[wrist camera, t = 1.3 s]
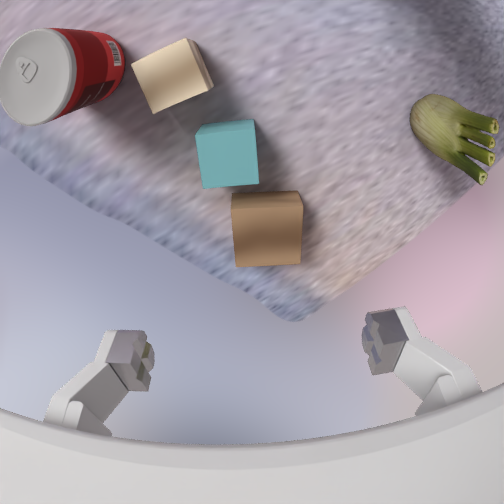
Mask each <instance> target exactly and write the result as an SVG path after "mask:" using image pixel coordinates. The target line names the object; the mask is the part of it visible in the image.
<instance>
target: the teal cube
mask: <svg viewBox="0 0 504 504" xmlns="http://www.w3.org/2000/svg"><path fill="white" fill-rule="evenodd" d="M195 139H196V146H197V153H198V159H199V166H200V172H201V179H202V185H203V189H207V188H217V187H227V186H238V185H250V184H259V175H258V162H257V149H256V137H255V127H254V120H253V119H247V120H236V121H226V122H217V123H208V124H202V126H201V127H200V129H199V130H198V132H197V133H196V134H195Z"/></svg>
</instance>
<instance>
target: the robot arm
mask: <svg viewBox="0 0 504 504" xmlns="http://www.w3.org/2000/svg"><path fill="white" fill-rule="evenodd" d="M365 321H366V324H367V325H366V326H365V327H364V328H363V331H362V344H363V348H364V351H365V353H367V354H368V355H369V359H368V364H369V367H370V370H371V373H372V375H377V374H383V373H389V372H393V373H394V374H395V375H396V376H397V377H398V378H399V379H400V380H401V381H402V382H403V383H405V384H406V385H407V386H408V387H409V388H410V389H411V390H412V391H413V392H414V393H415V394H416V395H417V396H419V397H420V398H421V399H422V400H423V402H422V404H421V405H420V406H419V408H418V409H417V411H416V412H415V415H416V416H415V417H412V418H408V419H405V420H401V421H397V422H394V423H390V424H386V425H382V426H377V427H373V428H368V429H364V430H359V431H354V432H349V433H343V434H338V435H332V436H326V437H318V438H311V439H304V440H294V441H285V442H273V443H258V444H235V445H234V444H232V445H204V444H177V443H162V442H150V441H142V440H133V439H124V438H118V437H112V433H111V431H110V430H109V429H108V428H106V426H104V424H103V422H104V421H105V420H106V419H107V418H108V416H109V415H110V414H111V413H112V411H113V410H114V409H115V408H116V407H117V405H118V404H119V403H120V402H121V401H122V399H123V398H124V397H125V396H126V394H127V393H128V391H148V389H149V385H150V380H151V376H150V375H149V373H148V372H149V371H150V370H152V369H153V366H154V351H153V348H152V346H151V344H149V343H148V342H146V340H147V335H146V334H145V332H144V331H140V330H138V331H137V330H107V331H106V332H105V334H104V336H103V339H102V342H101V344H100V347H99V349H98V352H97V355H96V357H95V360H94V362H90V363H89V364H88V365H87V366H86V367H85V368H83V369H82V370H81V371H80V372H79V373H78V374H76V375H75V376H74V377H73V378H72V379H71V380H70V381H69V382H68V383H66V384H65V385H64V386H63V387H62V388H61V389H60V390H59V391H57V392H56V393H55V394H54V395H53V396H52V398H51V401H50V404H49V406H48V409H47V412H46V415H45V418H44V421H43V422H41V421H38V420H35V419H31V418H28V417H25V416H22V415H19V414H16V413H13V412H10V411H7V410H4V409H1V408H0V504H504V383H502V384H500V385H498V386H496V387H494V388H491V389H489V390H487V391H485V392H482V390H481V388H480V386H479V384H478V382H477V380H476V377H475V375H474V373H473V371H472V369H471V367H470V366H468V365H467V364H465V363H464V362H462V361H461V360H460V359H458V358H457V357H455V356H454V355H452V354H451V353H449V352H448V351H446V350H445V349H443V348H442V347H440V346H438V345H437V344H435V343H434V342H432V341H431V340H429V339H428V338H426V337H423V338H422V336H421V334H420V332H419V330H418V328H417V326H416V324H415V323H414V321H413V319H412V317H411V315H410V313H409V311H408V309H407V308H406V307H405V306H404V307H398V308H393V309H385V310H380V311H374V312H368V313H367V315H366V318H365Z"/></svg>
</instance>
